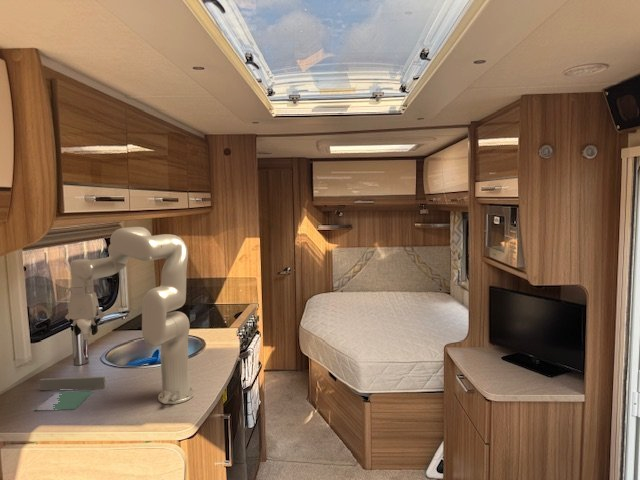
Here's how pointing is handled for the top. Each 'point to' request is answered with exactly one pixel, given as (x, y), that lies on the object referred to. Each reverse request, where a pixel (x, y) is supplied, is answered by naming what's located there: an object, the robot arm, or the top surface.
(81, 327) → the lightbulb
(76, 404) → the mat
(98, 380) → the low wall
